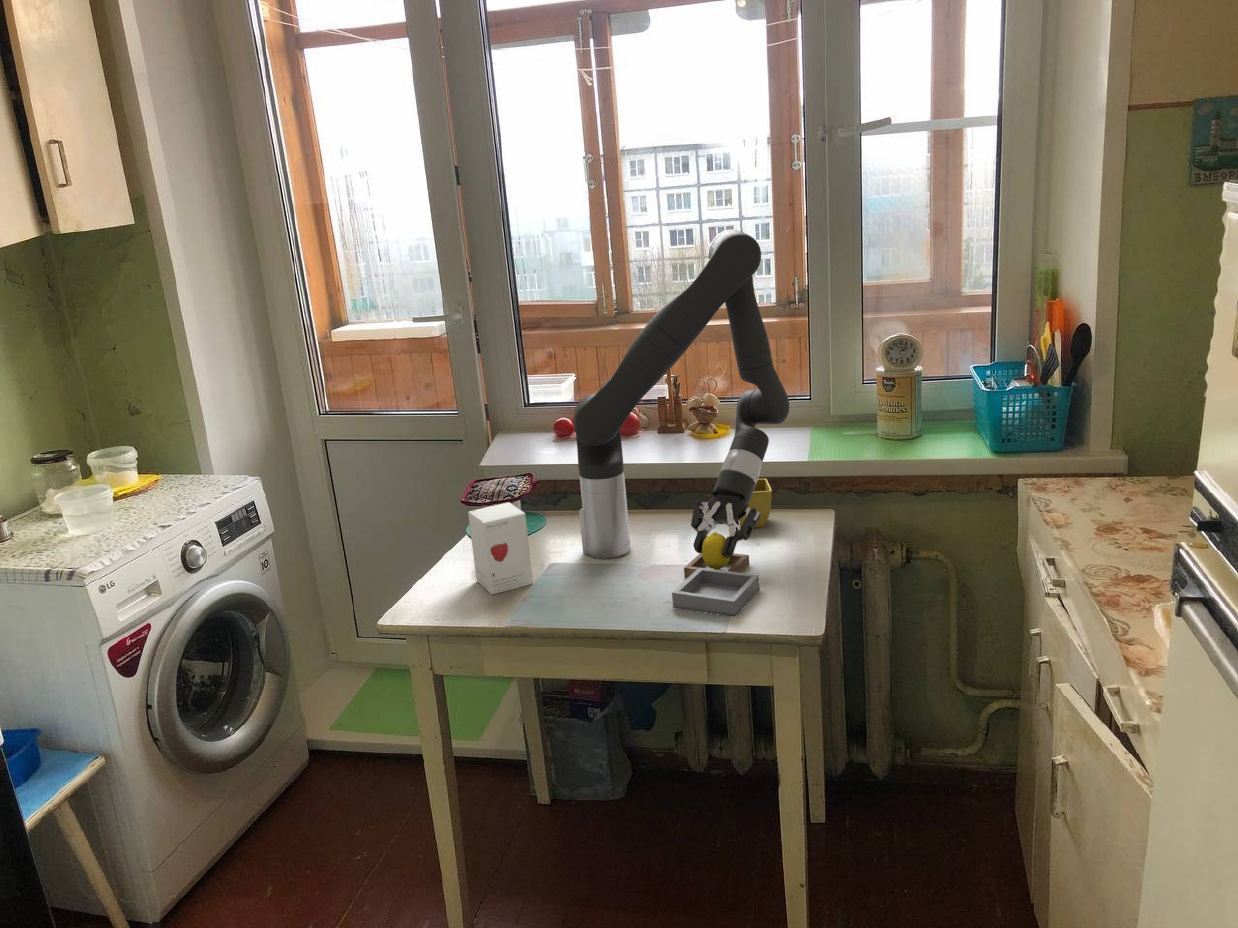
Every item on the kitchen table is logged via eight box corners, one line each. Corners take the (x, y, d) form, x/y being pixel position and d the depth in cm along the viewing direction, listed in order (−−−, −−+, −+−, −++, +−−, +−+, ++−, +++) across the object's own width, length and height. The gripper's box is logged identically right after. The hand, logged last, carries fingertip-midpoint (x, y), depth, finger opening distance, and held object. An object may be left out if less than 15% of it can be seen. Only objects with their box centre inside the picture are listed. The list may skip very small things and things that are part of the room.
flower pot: (773, 530, 206) (772, 490, 204) (733, 533, 207) (731, 493, 204) (768, 516, 215) (766, 478, 212) (729, 519, 215) (727, 481, 213)
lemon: (730, 576, 185) (727, 537, 182) (701, 576, 186) (698, 537, 184) (732, 565, 190) (730, 527, 188) (704, 565, 191) (702, 527, 189)
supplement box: (491, 596, 185) (481, 523, 181) (475, 581, 193) (466, 511, 189) (534, 584, 189) (526, 512, 185) (517, 570, 197) (509, 500, 193)
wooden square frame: (684, 577, 186) (683, 567, 186) (704, 559, 194) (703, 549, 193) (730, 583, 181) (730, 573, 181) (749, 564, 189) (748, 554, 189)
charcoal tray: (673, 607, 173) (671, 592, 172) (700, 582, 183) (699, 567, 182) (735, 617, 168) (734, 601, 167) (759, 590, 178) (758, 575, 177)
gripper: (699, 464, 192) (671, 540, 187) (764, 471, 184) (736, 551, 178) (714, 482, 198) (687, 556, 192) (777, 490, 190) (751, 567, 184)
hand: (711, 553), depth 185 cm, fingers closed on lemon, 5 cm apart
